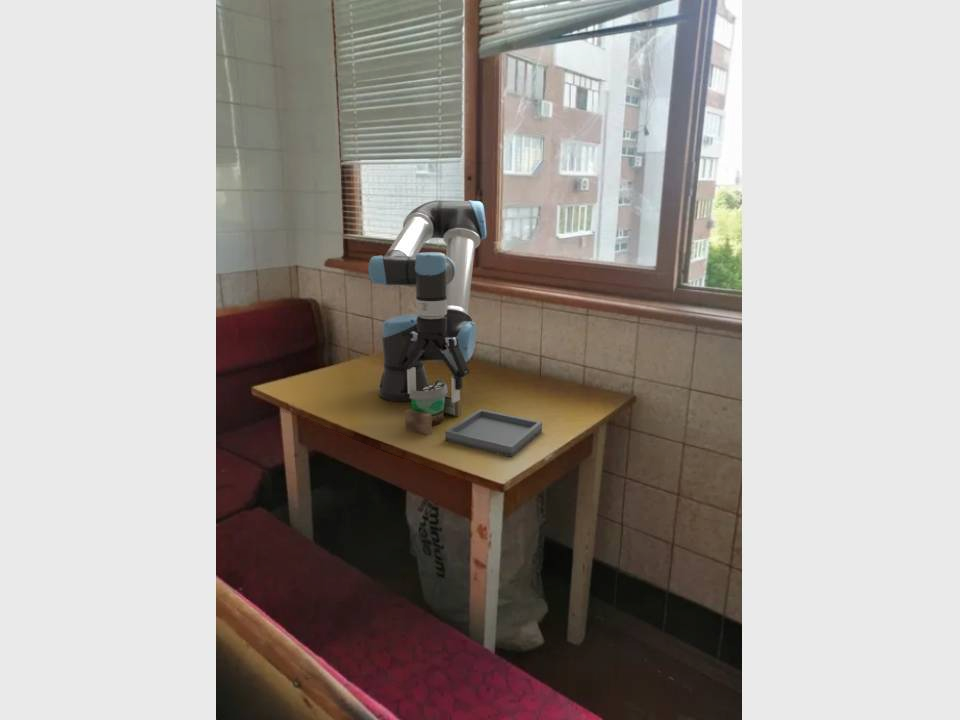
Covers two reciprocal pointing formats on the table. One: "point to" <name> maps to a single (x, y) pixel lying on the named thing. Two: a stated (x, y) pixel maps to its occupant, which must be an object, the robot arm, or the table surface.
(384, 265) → the robot arm
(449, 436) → the tray
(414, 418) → the brown rectangular blocks
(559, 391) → the table surface
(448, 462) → the table surface
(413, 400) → the food container
